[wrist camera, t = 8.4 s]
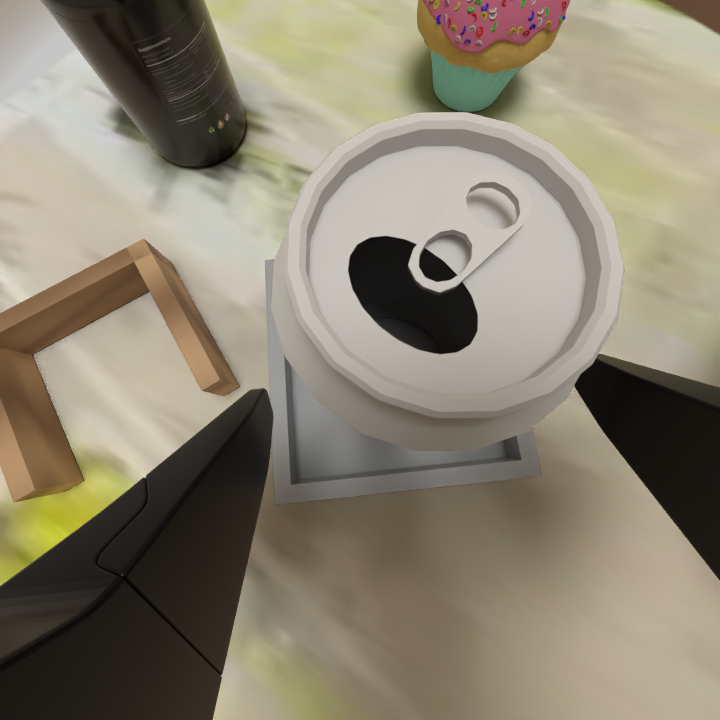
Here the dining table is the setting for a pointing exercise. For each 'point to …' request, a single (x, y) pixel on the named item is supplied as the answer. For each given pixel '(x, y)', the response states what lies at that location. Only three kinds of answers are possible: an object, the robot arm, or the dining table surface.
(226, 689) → the dining table surface
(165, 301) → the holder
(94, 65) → the supplement bottle
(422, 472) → the tray
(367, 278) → the can
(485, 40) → the cupcake
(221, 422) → the robot arm
